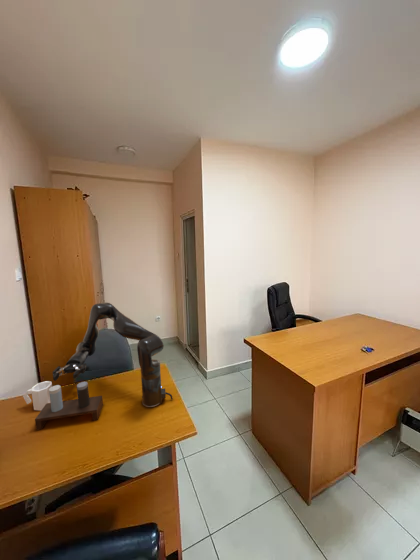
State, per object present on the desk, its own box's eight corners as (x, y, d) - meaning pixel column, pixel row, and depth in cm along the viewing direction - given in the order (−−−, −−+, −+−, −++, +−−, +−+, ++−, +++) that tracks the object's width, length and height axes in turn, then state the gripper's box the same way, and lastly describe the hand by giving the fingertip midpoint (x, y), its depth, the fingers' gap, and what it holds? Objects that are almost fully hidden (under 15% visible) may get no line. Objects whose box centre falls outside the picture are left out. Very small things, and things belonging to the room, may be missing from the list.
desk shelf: (103, 404, 110) (102, 395, 109) (97, 419, 100) (96, 409, 99) (47, 413, 105) (46, 403, 104) (36, 429, 95) (34, 419, 94)
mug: (57, 397, 116) (54, 379, 114) (50, 408, 108) (47, 389, 106) (29, 401, 113) (27, 383, 111) (20, 414, 104) (17, 394, 103)
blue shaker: (64, 404, 103) (62, 384, 102) (60, 411, 99) (58, 390, 97) (54, 406, 102) (51, 385, 101) (49, 412, 98) (46, 391, 97)
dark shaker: (90, 400, 105) (88, 380, 104) (88, 407, 101) (85, 386, 100) (80, 402, 105) (78, 382, 103) (77, 408, 100) (75, 388, 99)
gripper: (61, 356, 123) (47, 372, 107) (89, 353, 126) (79, 368, 110) (63, 369, 124) (48, 387, 108) (91, 366, 127) (81, 383, 111)
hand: (64, 377), depth 109 cm, fingers open, 8 cm apart
